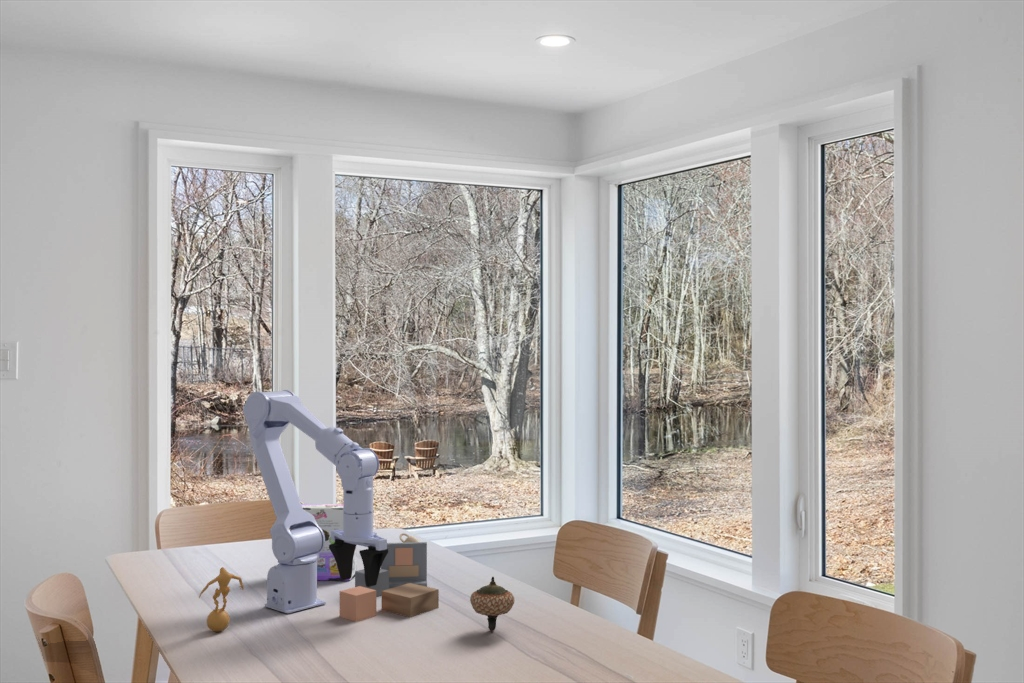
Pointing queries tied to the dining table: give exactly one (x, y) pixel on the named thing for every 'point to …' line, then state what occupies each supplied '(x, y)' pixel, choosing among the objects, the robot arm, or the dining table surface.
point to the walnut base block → (410, 599)
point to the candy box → (328, 538)
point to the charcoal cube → (381, 582)
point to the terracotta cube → (357, 603)
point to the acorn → (492, 602)
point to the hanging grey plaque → (406, 563)
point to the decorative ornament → (409, 539)
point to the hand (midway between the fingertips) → (358, 582)
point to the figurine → (218, 616)
